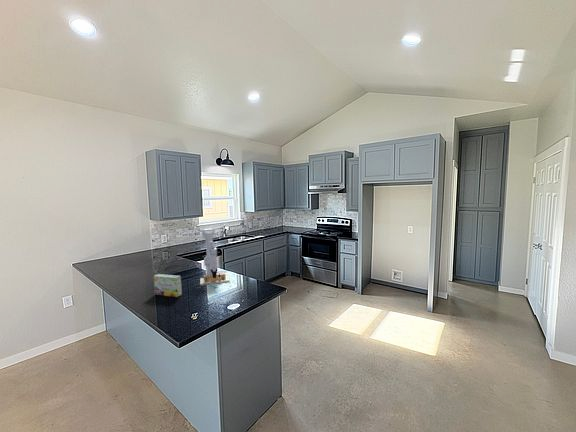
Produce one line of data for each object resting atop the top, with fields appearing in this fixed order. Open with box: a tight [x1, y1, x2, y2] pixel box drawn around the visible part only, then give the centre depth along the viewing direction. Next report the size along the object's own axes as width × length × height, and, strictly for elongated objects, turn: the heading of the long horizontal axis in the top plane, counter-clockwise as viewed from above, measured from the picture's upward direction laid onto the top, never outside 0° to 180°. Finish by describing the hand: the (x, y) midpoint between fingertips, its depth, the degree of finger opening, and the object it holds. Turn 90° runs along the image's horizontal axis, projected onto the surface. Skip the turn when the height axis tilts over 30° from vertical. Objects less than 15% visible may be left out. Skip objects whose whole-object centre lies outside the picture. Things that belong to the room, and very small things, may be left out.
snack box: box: [153, 273, 183, 298], centre depth 199 cm, size 21×6×15 cm, turn 73°
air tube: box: [203, 272, 227, 281], centre depth 229 cm, size 18×4×4 cm, turn 108°
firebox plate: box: [199, 274, 230, 286], centre depth 229 cm, size 16×24×5 cm, turn 108°
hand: (214, 277), depth 229 cm, fingers closed on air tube, 4 cm apart
